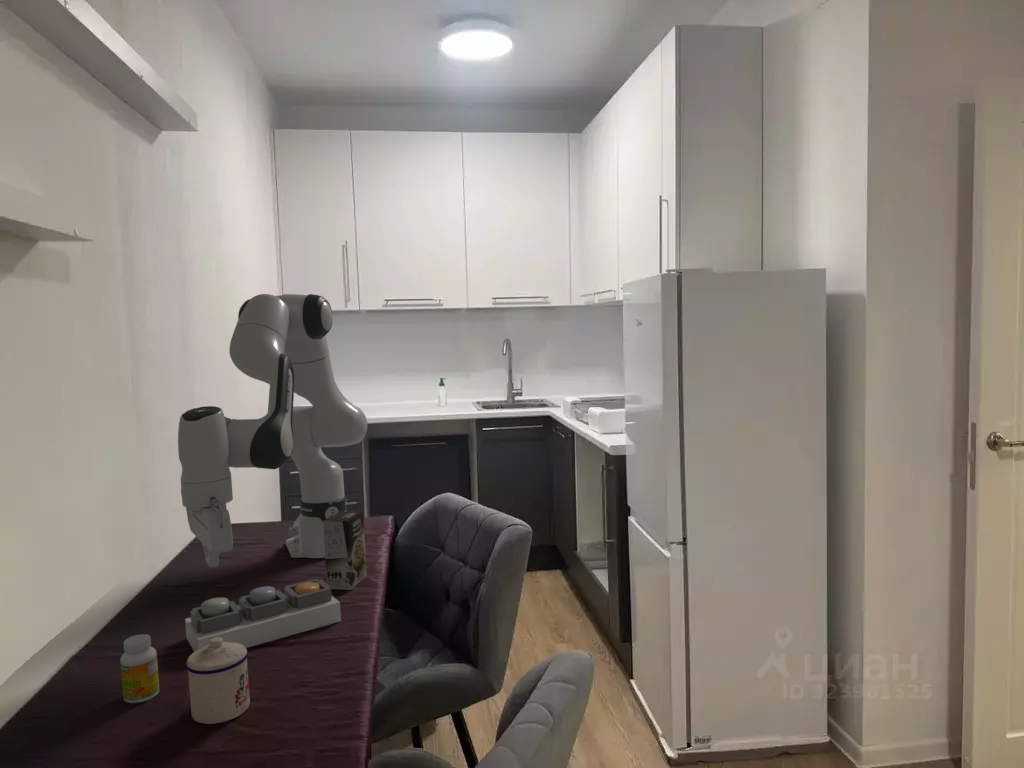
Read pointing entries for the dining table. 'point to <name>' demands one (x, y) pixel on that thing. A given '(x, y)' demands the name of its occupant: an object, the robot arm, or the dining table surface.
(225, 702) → the teacup with lid
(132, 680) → the supplement bottle
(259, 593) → the slate button
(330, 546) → the coffee box
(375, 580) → the dining table surface
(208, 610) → the sage button
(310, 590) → the orange button
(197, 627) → the button console
